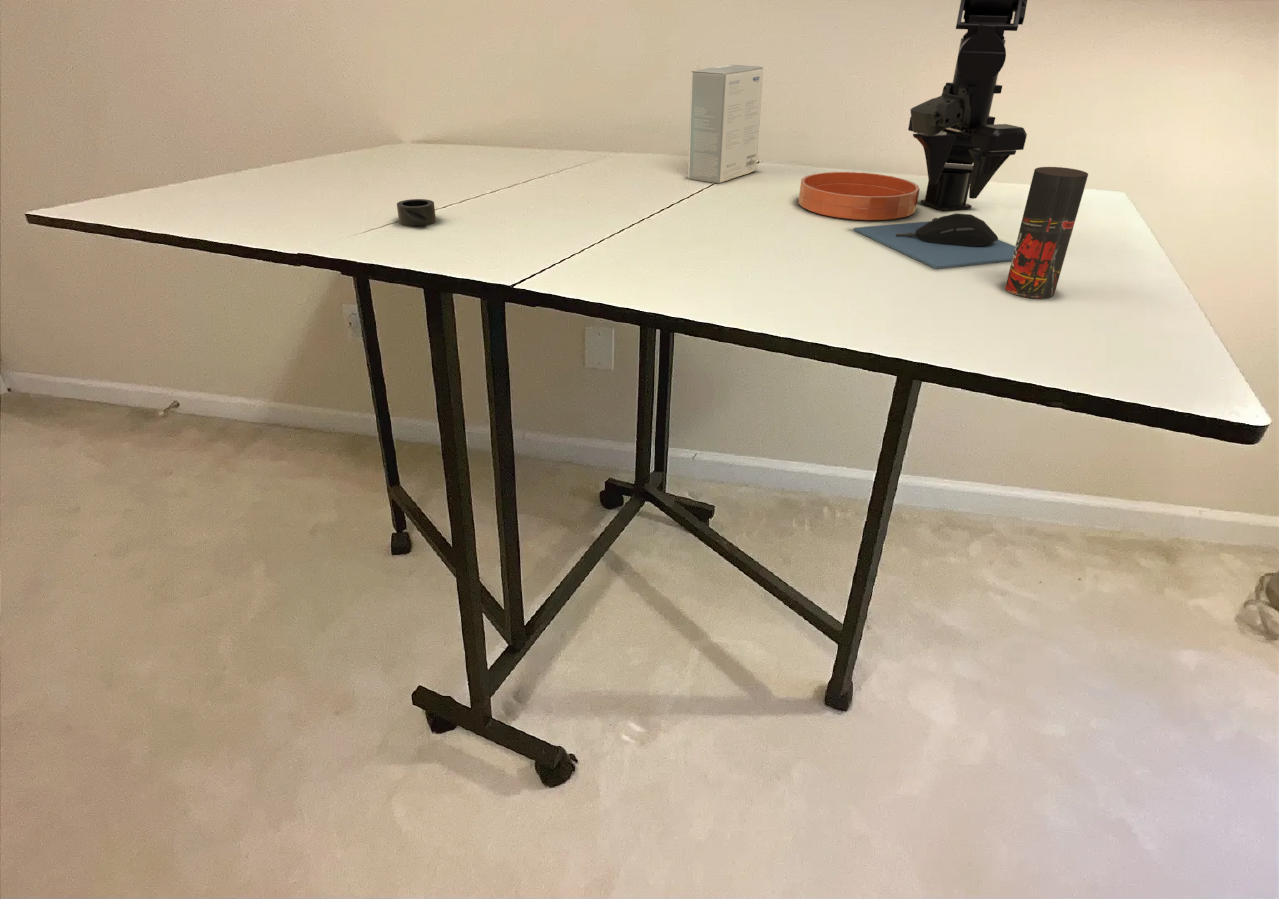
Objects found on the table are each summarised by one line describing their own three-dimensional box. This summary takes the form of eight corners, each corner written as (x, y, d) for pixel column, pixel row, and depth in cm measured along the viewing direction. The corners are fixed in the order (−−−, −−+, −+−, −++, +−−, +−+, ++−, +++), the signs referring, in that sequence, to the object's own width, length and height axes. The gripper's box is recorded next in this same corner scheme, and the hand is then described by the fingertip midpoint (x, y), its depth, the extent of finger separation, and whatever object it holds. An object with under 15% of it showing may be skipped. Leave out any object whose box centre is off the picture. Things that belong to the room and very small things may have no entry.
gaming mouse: (894, 231, 128) (899, 205, 126) (993, 238, 125) (999, 212, 123) (896, 241, 123) (900, 215, 121) (999, 249, 120) (1005, 222, 118)
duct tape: (380, 227, 127) (377, 208, 125) (409, 212, 135) (407, 194, 134) (426, 231, 125) (423, 212, 124) (452, 215, 134) (450, 197, 132)
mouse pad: (946, 222, 135) (947, 219, 135) (1038, 258, 118) (1039, 255, 118) (853, 230, 130) (853, 227, 130) (935, 268, 113) (936, 266, 112)
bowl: (872, 190, 154) (876, 169, 152) (939, 216, 138) (944, 192, 136) (778, 197, 149) (780, 175, 147) (836, 225, 132) (839, 200, 130)
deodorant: (996, 284, 107) (1025, 166, 100) (1039, 283, 108) (1071, 166, 100) (1018, 299, 102) (1050, 176, 95) (1063, 298, 103) (1098, 176, 95)
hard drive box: (725, 166, 172) (732, 63, 162) (757, 171, 169) (766, 66, 159) (686, 178, 161) (690, 69, 151) (718, 184, 158) (725, 72, 148)
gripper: (887, 70, 117) (870, 181, 125) (972, 84, 102) (946, 209, 110) (950, 69, 120) (930, 177, 128) (1042, 83, 105) (1013, 204, 113)
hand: (951, 191), depth 120 cm, fingers open, 9 cm apart
